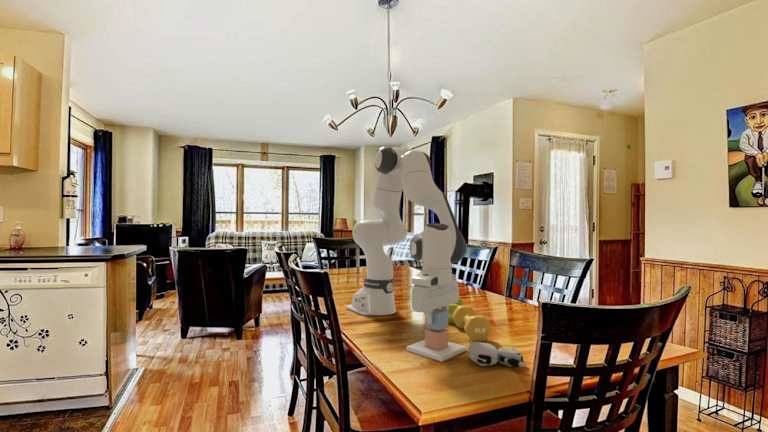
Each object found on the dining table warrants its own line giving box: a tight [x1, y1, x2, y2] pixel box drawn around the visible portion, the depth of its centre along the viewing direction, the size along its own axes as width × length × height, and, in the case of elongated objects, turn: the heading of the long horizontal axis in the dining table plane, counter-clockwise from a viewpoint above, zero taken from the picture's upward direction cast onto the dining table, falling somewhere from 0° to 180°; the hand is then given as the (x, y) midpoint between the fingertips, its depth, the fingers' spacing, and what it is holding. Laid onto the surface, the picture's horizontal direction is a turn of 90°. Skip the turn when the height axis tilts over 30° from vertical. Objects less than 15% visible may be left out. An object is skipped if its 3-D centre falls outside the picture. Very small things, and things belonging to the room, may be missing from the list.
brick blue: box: [424, 308, 449, 330], centre depth 120 cm, size 5×5×5 cm
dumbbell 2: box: [452, 304, 493, 343], centre depth 137 cm, size 19×9×8 cm, turn 5°
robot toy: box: [467, 340, 526, 368], centre depth 110 cm, size 12×4×15 cm
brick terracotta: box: [424, 328, 449, 350], centre depth 120 cm, size 5×5×5 cm
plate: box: [405, 339, 467, 363], centre depth 120 cm, size 13×13×1 cm
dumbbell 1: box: [448, 297, 465, 325], centre depth 157 cm, size 16×8×7 cm, turn 165°
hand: (436, 321), depth 120 cm, fingers closed on brick blue, 5 cm apart
